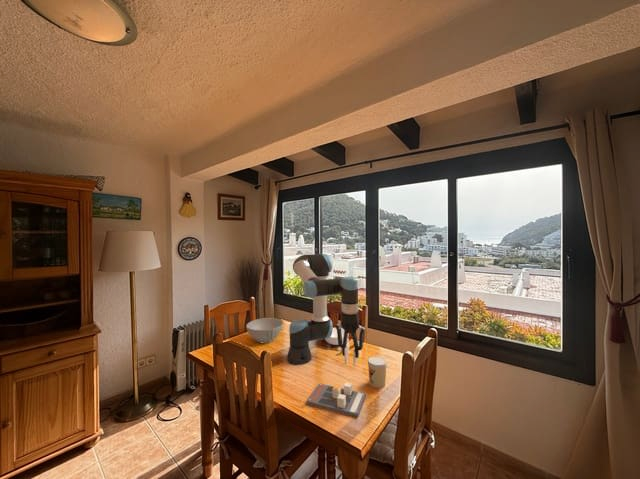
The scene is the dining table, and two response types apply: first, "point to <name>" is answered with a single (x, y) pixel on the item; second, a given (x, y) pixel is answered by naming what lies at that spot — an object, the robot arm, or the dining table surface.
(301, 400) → the dining table surface
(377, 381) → the coffee cup
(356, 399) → the breaker panel
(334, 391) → the breaker toggle
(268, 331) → the decorative bowl
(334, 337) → the bowl
